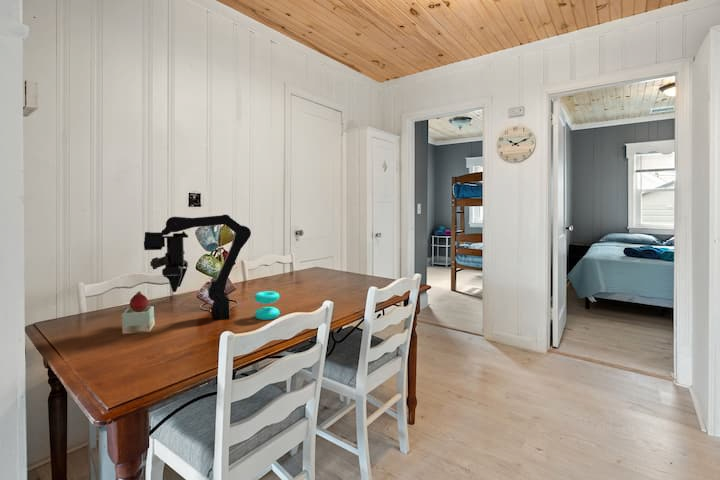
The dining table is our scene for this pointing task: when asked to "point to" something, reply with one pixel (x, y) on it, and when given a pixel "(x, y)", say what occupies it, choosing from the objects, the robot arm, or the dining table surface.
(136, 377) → the dining table surface
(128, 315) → the pale green open box
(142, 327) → the base block
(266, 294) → the donuts
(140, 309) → the onion
